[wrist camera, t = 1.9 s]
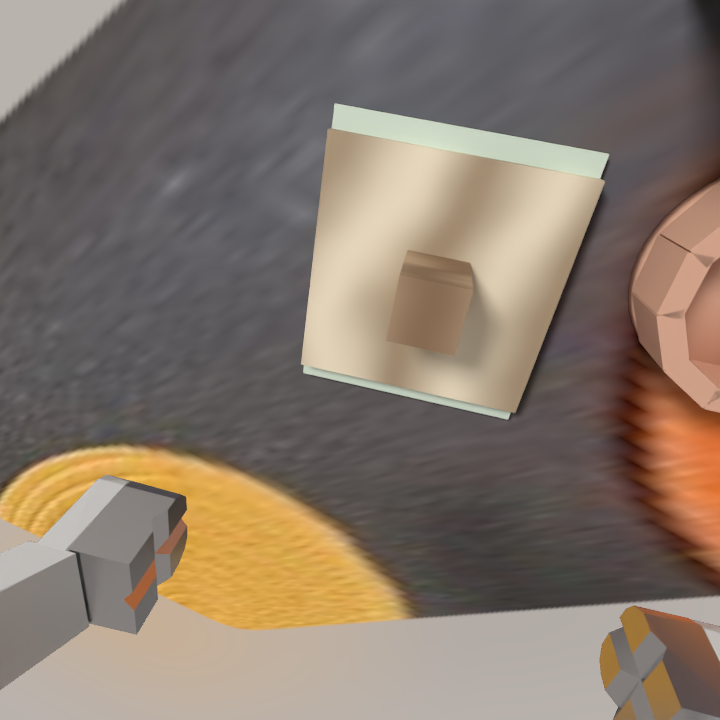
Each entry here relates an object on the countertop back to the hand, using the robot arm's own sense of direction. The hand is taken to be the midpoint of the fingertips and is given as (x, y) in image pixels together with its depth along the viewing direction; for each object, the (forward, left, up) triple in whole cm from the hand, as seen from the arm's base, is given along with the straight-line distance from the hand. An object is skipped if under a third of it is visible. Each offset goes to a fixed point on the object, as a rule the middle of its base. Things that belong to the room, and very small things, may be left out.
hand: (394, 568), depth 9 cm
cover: (0, 0, -17) cm, 17 cm away
